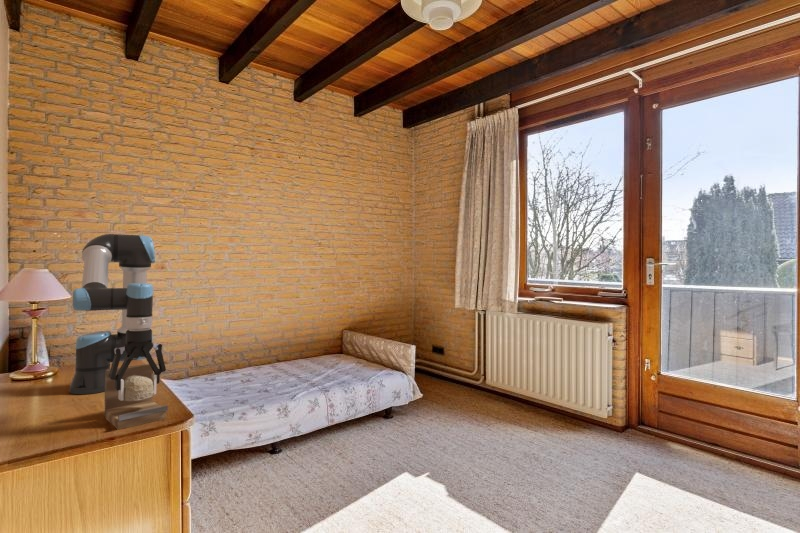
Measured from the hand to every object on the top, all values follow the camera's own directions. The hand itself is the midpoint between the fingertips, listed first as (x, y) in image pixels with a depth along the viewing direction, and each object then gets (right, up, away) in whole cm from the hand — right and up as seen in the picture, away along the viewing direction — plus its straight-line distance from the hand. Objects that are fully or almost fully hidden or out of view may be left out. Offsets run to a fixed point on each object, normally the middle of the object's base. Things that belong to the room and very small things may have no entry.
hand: (137, 396), depth 140 cm
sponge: (0, 0, 0) cm, 0 cm away
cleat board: (-1, -8, +1) cm, 8 cm away
